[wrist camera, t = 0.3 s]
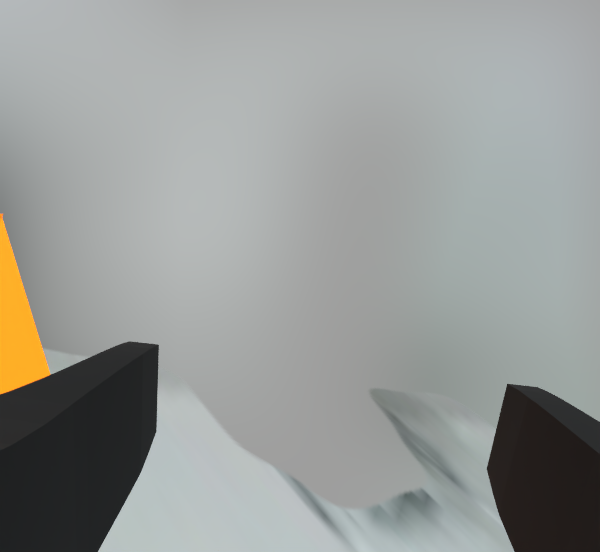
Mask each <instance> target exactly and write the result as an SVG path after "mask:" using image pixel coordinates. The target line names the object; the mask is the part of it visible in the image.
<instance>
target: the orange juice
mask: <svg viewBox="0 0 600 552" xmlns="http://www.w3.org/2000/svg"><path fill="white" fill-rule="evenodd" d="M2 216H3V214H0V394H3V393H6V392H9V391H11V390H14V389H16V388H19V387H21V386H24V385H26V384H29V383H31V382H34V381H36V380H39V379H41V378H44V377H46V376H49V375H50V372H49V369H48V365H47V362H46V359H45V356H44V352H43V349H42V346H41V343H40V339H39V336H38V333H37V330H36V326H35V323H34V320H33V317H32V314H31V310H30V307H29V304H28V300H27V297H26V294H25V291H24V287H23V284H22V281H21V277H20V274H19V271H18V268H17V264H16V261H15V258H14V255H13V251H12V248H11V245H10V242H9V239H8V235H7V232H6V229H5V225H4V222H3V219H2Z"/></svg>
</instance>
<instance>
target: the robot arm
mask: <svg viewBox="0 0 600 552" xmlns="http://www.w3.org/2000/svg"><path fill="white" fill-rule="evenodd" d="M158 350H159V345H155V344H147V343H138V342H127V343H123V344H120V345H118V346H115V347H113V348H110V349H108V350H106V351H104V352H101V353H99V354H97V355H94V356H92V357H90V358H88V359H86V360H83V361H81V362H79V363H77V364H74V365H72V366H70V367H68V368H65V369H63V370H61V371H59V372H56V373H54V374H51V375H49V376H46V377H44V378H41V379H39V380H36V381H34V382H31V383H29V384H26V385H24V386H21V387H19V388H16V389H14V390H11V391H9V392H6V393H3V394H0V552H98V550H99V548H100V547H101V545H102V543H103V541H104V539H105V538H106V536H107V534H108V532H109V530H110V528H111V527H112V525H113V523H114V521H115V519H116V517H117V516H118V514H119V512H120V510H121V508H122V507H123V505H124V503H125V501H126V499H127V497H128V495H129V494H130V492H131V490H132V488H133V486H134V484H135V482H136V481H137V479H138V477H139V475H140V473H141V471H142V468H143V465H144V463H145V460H146V458H147V455H148V453H149V450H150V447H151V444H152V442H153V439H154V436H155V433H156V422H157V386H158ZM487 471H488V475H489V479H490V483H491V487H492V491H493V495H494V499H495V502H496V505H497V509H498V512H499V515H500V518H501V520H502V523H503V525H504V527H505V530H506V532H507V535H508V537H509V539H510V542H511V544H512V546H513V549H514V551H515V552H600V422H599V421H597V420H595V419H594V418H592V417H590V416H589V415H587V414H585V413H584V412H582V411H581V410H579V409H577V408H575V407H574V406H572V405H571V404H569V403H567V402H565V401H564V400H562V399H560V398H558V397H557V396H555V395H553V394H551V393H549V392H547V391H545V390H543V389H540V388H538V387H530V386H521V385H512V384H507V388H506V392H505V396H504V400H503V404H502V408H501V413H500V417H499V421H498V425H497V429H496V433H495V437H494V442H493V446H492V450H491V454H490V458H489V462H488V466H487Z"/></svg>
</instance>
